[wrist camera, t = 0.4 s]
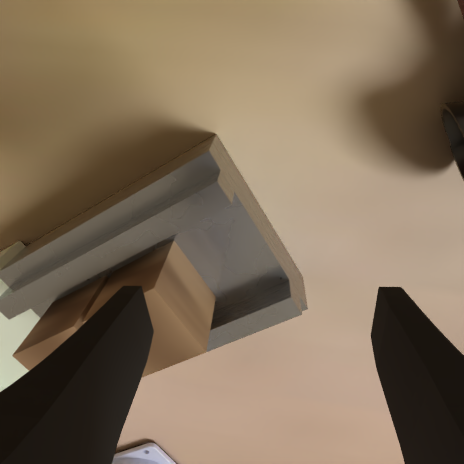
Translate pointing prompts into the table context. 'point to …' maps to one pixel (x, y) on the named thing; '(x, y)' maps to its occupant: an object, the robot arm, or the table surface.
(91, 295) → the block
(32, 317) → the tray
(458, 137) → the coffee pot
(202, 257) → the rail
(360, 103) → the table surface
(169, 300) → the block
